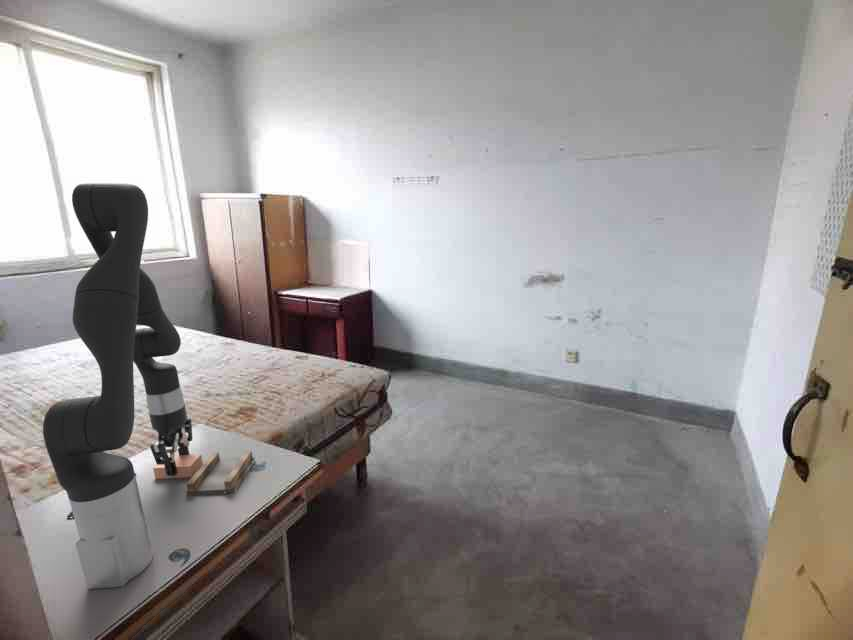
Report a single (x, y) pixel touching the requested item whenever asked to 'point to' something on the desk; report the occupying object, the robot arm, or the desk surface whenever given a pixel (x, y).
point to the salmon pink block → (181, 466)
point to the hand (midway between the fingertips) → (179, 467)
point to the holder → (219, 474)
